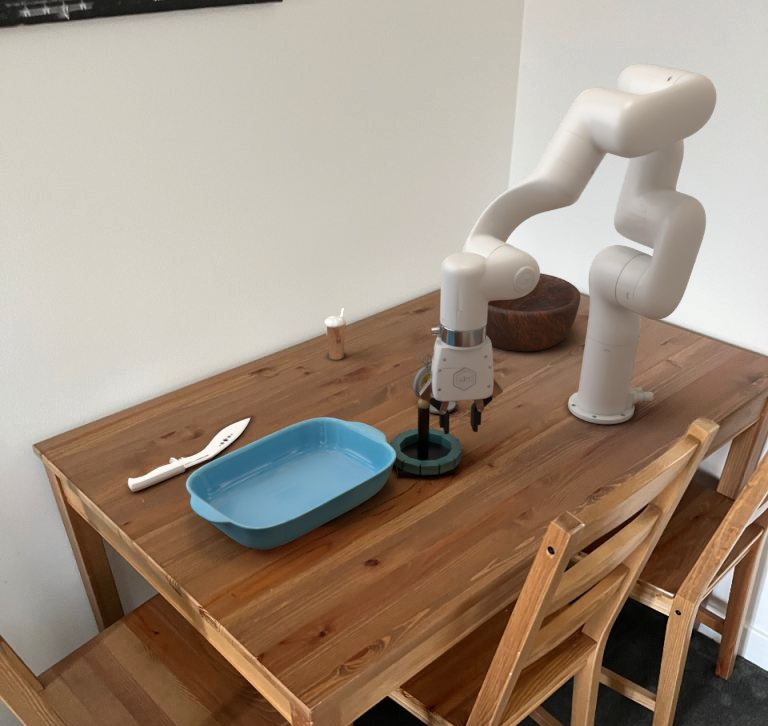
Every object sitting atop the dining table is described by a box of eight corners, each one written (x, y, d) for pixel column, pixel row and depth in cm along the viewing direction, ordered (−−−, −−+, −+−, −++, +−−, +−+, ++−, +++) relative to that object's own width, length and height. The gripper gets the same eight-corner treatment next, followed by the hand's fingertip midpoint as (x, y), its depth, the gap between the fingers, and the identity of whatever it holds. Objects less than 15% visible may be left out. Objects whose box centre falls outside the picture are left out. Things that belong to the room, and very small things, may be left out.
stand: (446, 444, 156) (448, 382, 149) (454, 474, 148) (458, 410, 141) (391, 447, 155) (391, 385, 148) (397, 478, 147) (397, 413, 140)
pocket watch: (453, 417, 164) (455, 370, 158) (410, 413, 166) (410, 366, 160) (458, 397, 171) (460, 351, 165) (417, 393, 172) (418, 347, 166)
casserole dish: (333, 436, 159) (331, 402, 155) (420, 483, 146) (421, 447, 142) (164, 520, 138) (157, 483, 134) (249, 583, 125) (244, 545, 121)
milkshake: (353, 353, 187) (351, 310, 181) (339, 363, 183) (337, 319, 178) (336, 349, 189) (334, 306, 183) (322, 358, 185) (319, 314, 180)
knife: (249, 413, 164) (274, 427, 160) (250, 420, 165) (275, 435, 161) (108, 468, 147) (132, 486, 142) (110, 476, 148) (133, 494, 143)
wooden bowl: (584, 358, 185) (590, 313, 179) (468, 358, 185) (471, 313, 179) (565, 312, 205) (571, 270, 199) (461, 312, 205) (463, 270, 199)
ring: (455, 435, 157) (456, 426, 155) (466, 473, 146) (466, 464, 145) (387, 438, 156) (387, 429, 155) (393, 476, 146) (393, 467, 145)
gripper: (414, 345, 134) (414, 444, 145) (519, 338, 135) (511, 437, 146) (408, 325, 140) (409, 421, 151) (509, 319, 141) (502, 415, 152)
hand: (459, 428), depth 149 cm, fingers open, 4 cm apart
